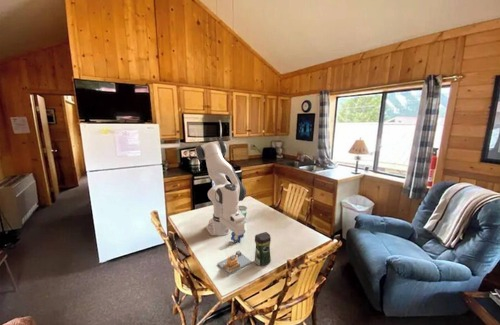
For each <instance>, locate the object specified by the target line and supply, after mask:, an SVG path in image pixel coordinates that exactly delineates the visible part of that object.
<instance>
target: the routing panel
mask: <svg viewBox="0 0 500 325" xmlns="http://www.w3.org/2000/svg"><path fill="white" fill-rule="evenodd" d="M234 256H236V253H235V254H234ZM227 259H228V257H227V258H226V259H223V260H221V261H219V262H217V265H218V267H220V269H222V270H223V272H224V273H225V274H227V276H230V275H232V274H234V273H236V272H238V271H240V270H241V269H243V268H246V267H247V266H248V265H251V264H252V262H253V261H252V260H250V258H248V257H247V256H246V255H244V254H243V253H242V252H241V256H239V257H238V258H237V261H238V262H239V263H240V268H238V269H236V270H234V271H233V272H231V273H229V272H228V271H227V270H226V269H225V268H224V267H223V263H225V264H226V265H227Z"/></svg>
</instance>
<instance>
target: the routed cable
mask: <svg viewBox="0 0 500 325" xmlns="http://www.w3.org/2000/svg"><path fill="white" fill-rule="evenodd" d="M241 253H242V252H241V251H240V250H237V251H236V252H235V254H236V256H235V257H236V258H238V257H239V256H241ZM235 254H234V253H233V254H232V255H235Z"/></svg>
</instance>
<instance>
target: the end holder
mask: <svg viewBox="0 0 500 325" xmlns="http://www.w3.org/2000/svg"><path fill="white" fill-rule="evenodd" d="M223 267H224V268H225V269H226V270H227V271H228V272H229V273H231V272H233V271H234V270H236V269H238V268H240V263H239V262H238V261H237V264H236V265H234V266H232V267H231V268H229V267H228V266H227V265H226V264H225V263H223Z"/></svg>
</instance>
